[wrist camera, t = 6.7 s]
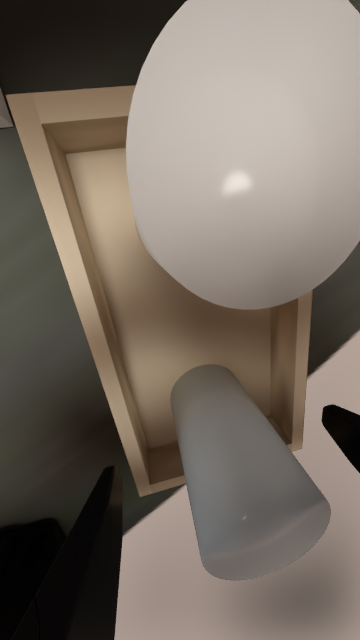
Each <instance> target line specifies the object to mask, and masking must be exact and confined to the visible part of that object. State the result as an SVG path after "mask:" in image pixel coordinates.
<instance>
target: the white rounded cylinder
mask: <svg viewBox="0 0 360 640" xmlns="http://www.w3.org/2000/svg"><path fill="white" fill-rule="evenodd" d="M126 166H127V176H128V183H129V190H130V196H131V202H132V208H133V214H134V219H135V225H136V230H137V234H138V237H139V240H140V242H141V244H142V246H143V248H144V249H145V251H146V252H147V253H148V255H149V256H150V257H151V258H152V259H153V260H154V261H156V262H157V263H158V264H159V265H160V266H161V267H162V268H163V269H164V270H165V271H166V272H168V273H169V274H170V275H171V276H172V277H173V278H174V279H175V280H176V281H178V282H179V283H180V284H181V285H183V286H184V287H185V288H186V289H187V290H189V291H191V292H192V293H194V294H195V295H197V296H199V297H200V298H202V299H205V300H207V301H209V302H211V303H214V304H217V305H220V306H224V307H228V308H234V309H242V310H255V309H263V308H270V307H274V306H278V305H281V304H285V303H287V302H290V301H292V300H294V299H297V298H299V297H301V296H302V295H304V294H306V293H308V292H309V291H311V290H312V289H314V288H315V287H317V286H318V285H320V284H321V283H322V282H324V281H325V280H326V279H327V278H328V277H329V276H330V275H331V274H333V273H334V272H335V271H336V270H337V269H338V268H339V266H340V265H341V264H342V263H343V262H344V261H345V260H346V259H347V257H348V256H349V255H350V253H351V252H352V251H353V250H354V248H355V247H356V245H357V244H358V242H359V241H360V13H359V12H358V11H357V10H356V9H355V8H354V6H353V5H352V4H351V3H350V2H349V1H348V0H187V1H186V2H185V3H184V4H183V5H182V6H181V7H180V9H179V10H178V11H177V12H176V13H175V14H174V15H173V16H172V18H171V19H170V20H169V21H168V22H167V24H166V25H165V27H164V28H163V30H162V31H161V33H160V34H159V36H158V38H157V39H156V41H155V42H154V44H153V46H152V48H151V50H150V52H149V54H148V56H147V58H146V60H145V62H144V64H143V67H142V69H141V72H140V75H139V78H138V81H137V84H136V87H135V90H134V93H133V98H132V103H131V107H130V112H129V117H128V126H127V138H126Z"/></svg>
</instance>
